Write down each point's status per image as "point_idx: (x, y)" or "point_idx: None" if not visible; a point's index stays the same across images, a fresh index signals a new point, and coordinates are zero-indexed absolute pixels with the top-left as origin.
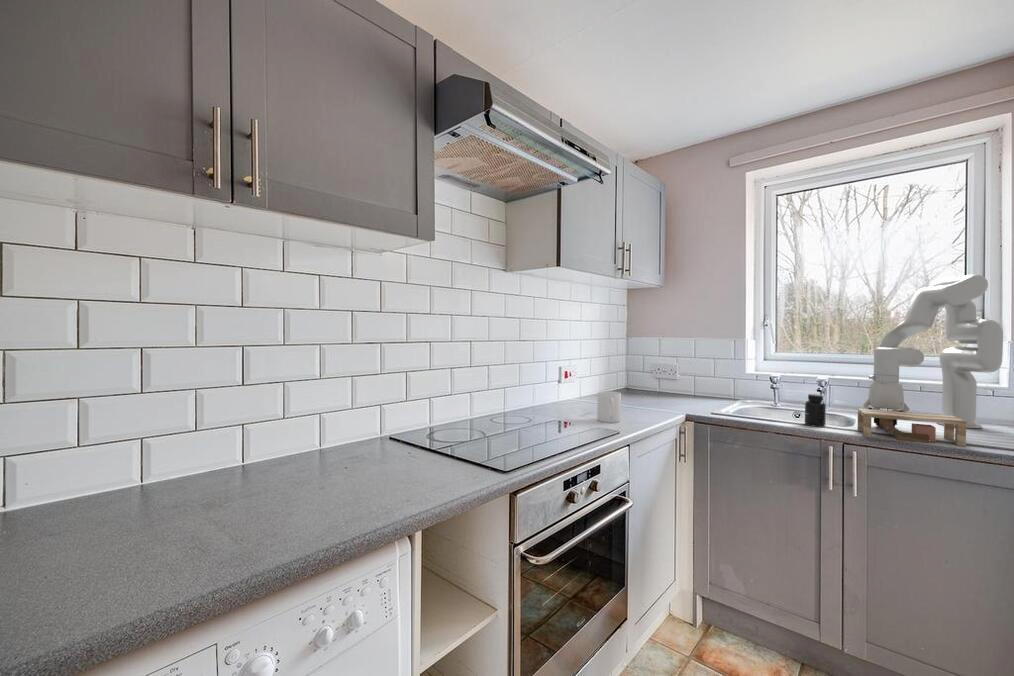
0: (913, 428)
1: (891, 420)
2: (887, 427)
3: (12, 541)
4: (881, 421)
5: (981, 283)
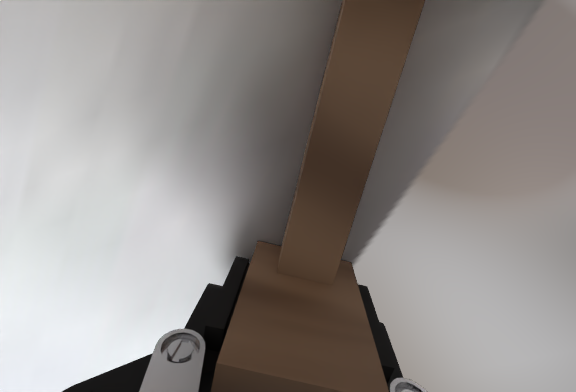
0: None
1: (258, 291)
2: (398, 69)
3: None
4: (348, 297)
5: None
